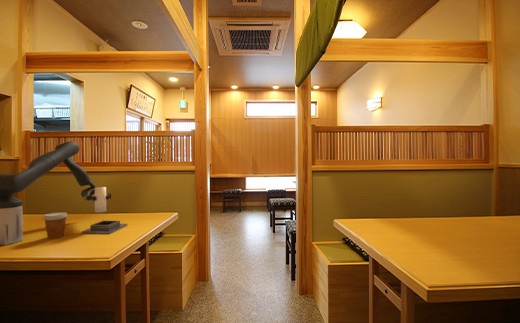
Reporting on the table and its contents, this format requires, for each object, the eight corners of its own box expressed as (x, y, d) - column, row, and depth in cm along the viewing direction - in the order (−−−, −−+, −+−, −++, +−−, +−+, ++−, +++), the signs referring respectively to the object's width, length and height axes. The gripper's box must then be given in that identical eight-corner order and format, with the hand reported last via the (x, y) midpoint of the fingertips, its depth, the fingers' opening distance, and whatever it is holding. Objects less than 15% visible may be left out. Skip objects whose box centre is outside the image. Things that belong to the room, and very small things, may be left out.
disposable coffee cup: (72, 234, 129) (72, 212, 129) (55, 240, 119) (55, 216, 119) (56, 233, 130) (56, 211, 130) (38, 239, 120) (38, 215, 120)
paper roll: (102, 212, 138) (102, 187, 138) (92, 212, 138) (92, 187, 138) (108, 210, 144) (108, 186, 143) (99, 210, 144) (99, 186, 144)
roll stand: (110, 233, 130) (110, 226, 130) (81, 233, 130) (81, 226, 130) (127, 225, 146) (127, 219, 146) (101, 225, 146) (101, 219, 146)
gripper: (81, 190, 146) (86, 193, 134) (108, 188, 156) (115, 190, 144) (81, 202, 146) (86, 206, 134) (108, 199, 156) (115, 203, 144)
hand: (101, 198), depth 139 cm, fingers closed on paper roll, 5 cm apart
